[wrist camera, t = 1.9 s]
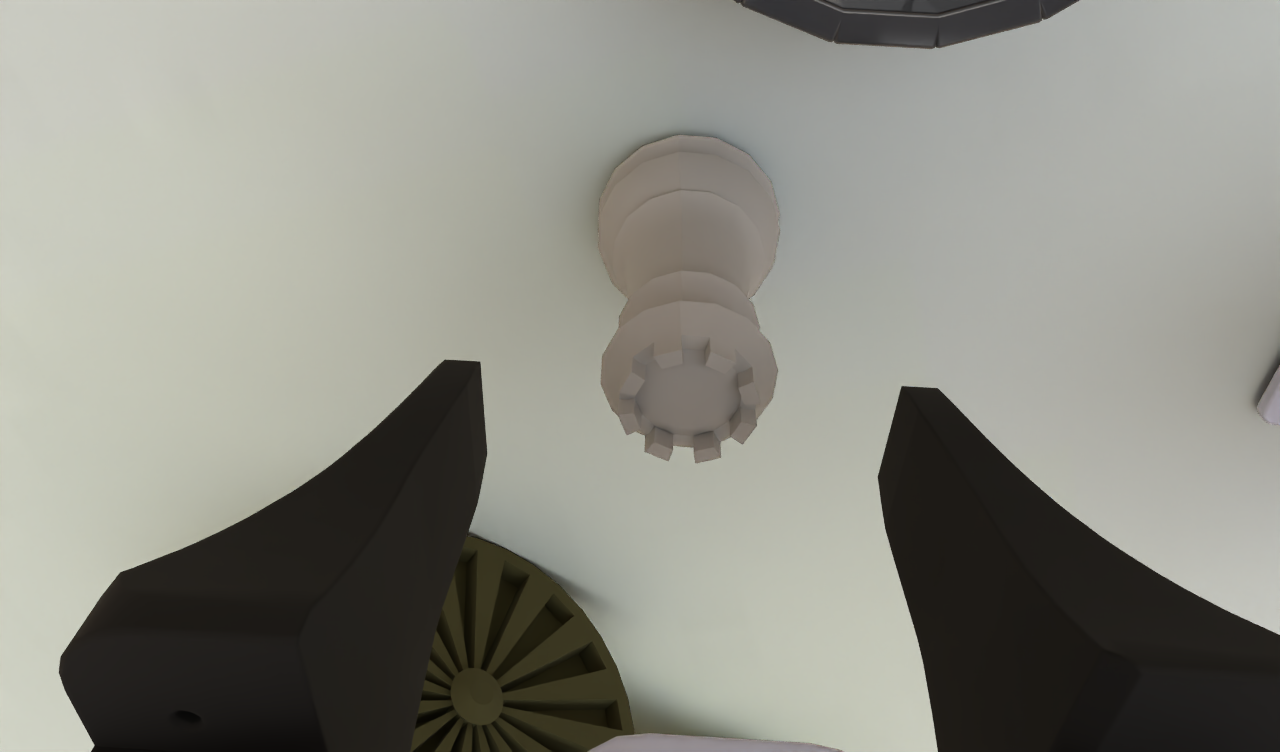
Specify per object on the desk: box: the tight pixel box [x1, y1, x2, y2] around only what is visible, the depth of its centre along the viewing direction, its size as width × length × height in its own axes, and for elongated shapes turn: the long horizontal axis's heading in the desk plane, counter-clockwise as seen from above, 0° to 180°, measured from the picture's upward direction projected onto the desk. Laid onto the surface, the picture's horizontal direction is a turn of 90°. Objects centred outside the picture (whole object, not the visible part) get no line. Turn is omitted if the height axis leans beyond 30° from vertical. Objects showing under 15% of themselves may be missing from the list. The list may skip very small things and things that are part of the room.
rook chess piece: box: [598, 135, 780, 463], centre depth 19 cm, size 4×4×8 cm
